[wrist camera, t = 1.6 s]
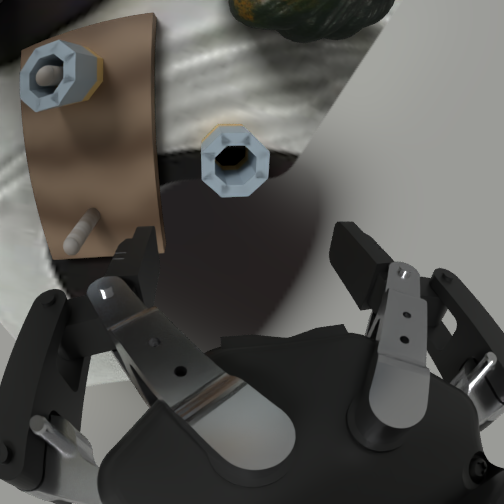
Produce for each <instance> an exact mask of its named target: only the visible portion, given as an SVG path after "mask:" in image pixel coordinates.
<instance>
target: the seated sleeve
mask: <svg viewBox="0 0 504 504" xmlns="http://www.w3.org/2000/svg"><path fill="white" fill-rule="evenodd" d="M47 65H50V66H63V80H62V81H61V83H60V84H59V85H53V86H40V85H38V84H37V82H36V74H37V72H38V71H39V69H40V68H42V67H43V66H47ZM102 82H103V58H101V57H100V56H99V55H97V54H96V53H95V52H93V51H92V50H91V49H89V48H88V47H85V46H81V45H78V44H74V43H70V42H66V41H62V40H57V41H54V42H51V43H48V44H46V45H43V46H41V47H38V48H35V50H34V51H33V53H32V54H31V56H30V57H29V59H28V61H27V62H26V64H25V65H24V67H23V68H22V70H21V72H20V99H21V100H22V101H23V102H24V103H26V104H27V105H28V106H29V107H30V108H31V109H32V110H34V111H35V112H39V111H43V110H48V109H52V108H57V107H61V106H66V105H70V104H74V103H78V102H82V101H87V100H89V99H90V97H91V96H92V95H93V93H94V92H95V91H96V90H97V88H98V87H99V86H100V84H101V83H102Z"/></svg>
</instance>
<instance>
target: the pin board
mask: <svg viewBox="0 0 504 504" xmlns="http://www.w3.org/2000/svg"><path fill="white" fill-rule="evenodd" d="M156 21H157V17H156V16H155V14H154V13H145V14H139V15H133V16H128V17H123V18H118V19H113V20H109V21H104V22H100V23H96V24H93V25H89V26H86V27H82V28H79V29H76V30H72V31H69V32H66V33H63V34H60V35H58V36H55V37H52V38H50V39H47V40H44V41H42V42H39V43H37V44H35V45H32V46H30V47H28V48H26V49H23V50H21V70H22V68H23V67H24V65H25V64H26V62H27V61H28V59H29V57H30V56H31V54H32V53H33V51H34V50H35V48H38V47H41V46H43V45H46V44H48V43H51V42H54V41H57V40H62V41H66V42H70V43H74V44H78V45H81V46H85V47H88V48H89V49H91V50H92V51H93V52H95V53H96V54H97V55H99V56H100V57H101V58H103V82H102V83H101V84H100V86H99V87H98V88H97V90H96V91H95V92H94V93H93V95H92V96H91V97H90V99H89V100H87V101H82V102H78V103H74V104H70V105H66V106H61V107H57V108H52V109H48V110H43V111H39V112H35V111H34V110H32V109H31V108H30V107H29V106H28V105H27V104H26V103H24V102H23V101H22V100H21V111H22V124H23V134H24V142H25V149H26V156H27V162H28V168H29V173H30V179H31V183H32V188H33V193H34V197H35V201H36V205H37V209H38V213H39V217H40V220H41V224H42V227H43V230H44V234H45V237H46V240H47V243H48V246H49V249H50V252H51V255H52V258H53V260H57V259H73V258H89V257H105V256H114V254H115V251H116V249H117V247H118V245H119V244H120V243H121V242H123V241H124V240H125V239H128V238H132V237H133V235H134V233H135V230H136V228H137V227H141V226H154V227H155V230H156V237H157V245H158V252H159V253H164V252H165V246H166V238H165V231H164V223H163V214H162V206H161V196H160V185H159V174H158V161H157V146H156V126H155V39H156ZM62 80H63V66H50V65H47V66H43V67H42V68H40V69H39V71H38V72H37V74H36V82H37V84H38V85H40V86H53V85H59V84H60V83H61V81H62Z"/></svg>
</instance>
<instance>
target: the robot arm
mask: <svg viewBox="0 0 504 504" xmlns="http://www.w3.org/2000/svg"><path fill="white" fill-rule="evenodd" d="M2 1H3V0H0V3H1V2H2ZM329 258H330V263H331V265H332V266H333V268H334V269H335V271H336V272H337V274H338V276H339V277H340V279H341V280H342V282H343V283H344V285H345V286H346V288H347V290H348V291H349V293H350V294H351V296H352V297H353V299H354V301H355V302H356V304H357V305H358V307H359V309H360V310H366V309H372V313H371V315H370V318H369V322H368V326H367V329H366V333H365V336H364V335H360V334H355V333H348V332H347V330H346V328H345V326H344V324H341V325H334V326H327V327H320V328H315V329H312V330H309V331H307V332H304V333H301V334H298V335H296V336H292V337H289V338H281V337H271V336H261V335H243V336H229V337H221V347H218V348H215V349H212V350H210V351H207V352H206V353H203V352H202V351H201V350H200V349H199V348H198V347H197V346H196V345H195V344H193V343H192V342H191V341H190V340H189V339H188V338H187V337H186V336H185V335H184V334H183V333H182V332H181V331H180V330H179V329H178V328H177V327H176V326H175V325H174V324H173V323H172V322H171V321H170V320H169V319H168V318H167V317H166V316H165V315H164V314H163V313H162V312H161V311H160V310H159V309H158V308H157V307H156V306H153V305H154V299H155V293H156V288H157V282H158V277H159V271H160V260H159V252H158V245H157V237H156V230H155V227H154V226H141V227H137V228H136V230H135V233H134V235H133V237H132V238H128V239H125V240H124V241H123V242H121V243H120V244H119V245H118V247H117V249H116V251H115V254H114V256H113V258H112V260H111V262H110V265H109V267H108V269H107V272H106V274H105V276H104V277H103V278H100V279H98V280H96V281H94V282H93V283H92V284H91V285H90V286H89V288H88V290H87V295H84V296H81V297H77V298H72V299H68V300H67V297H66V295H65V293H64V292H63V291H62V290H59V289H52V290H48V291H46V292H44V293H42V294H40V295H39V296H38V297H37V298H36V299H35V301H34V302H33V305H32V307H31V309H30V311H29V313H28V315H27V317H26V319H25V322H24V324H23V326H22V328H21V331H20V333H19V335H18V338H17V340H16V343H15V345H14V348H13V350H12V353H11V355H10V358H9V361H8V364H7V367H6V369H5V372H4V375H3V379H2V382H1V385H0V479H2V480H4V481H5V482H7V483H9V484H12V485H13V486H15V487H17V488H18V489H19V490H21V491H23V492H26V493H28V494H30V495H33V496H35V497H37V498H39V499H42V500H45V501H50V502H53V503H55V504H72V503H75V504H504V468H500V467H497V466H495V465H493V464H491V463H490V462H489V461H488V460H487V458H486V456H485V454H484V452H483V447H482V443H481V438H480V431H482V430H483V429H485V428H486V427H487V426H489V425H490V424H491V423H492V422H493V421H494V420H496V419H497V418H498V417H499V416H500V415H501V414H502V413H504V333H503V331H502V330H501V329H500V327H499V326H498V325H497V324H496V322H495V321H494V320H493V318H492V317H491V316H490V315H489V313H488V312H487V311H486V310H485V308H484V307H483V306H482V305H481V304H480V302H479V301H478V300H477V299H476V298H475V296H474V295H473V294H472V293H471V292H470V291H469V290H468V288H467V287H466V286H465V285H464V284H463V283H462V282H461V280H460V279H459V278H458V277H457V276H456V275H454V274H453V273H452V272H450V271H448V270H446V269H442V268H438V269H435V270H434V272H433V275H432V277H431V278H426V277H420V274H419V273H418V271H417V270H416V269H415V268H414V267H412V266H411V265H409V264H406V263H403V262H394V261H393V259H392V258H391V257H390V256H389V255H388V254H387V253H386V252H385V251H384V250H383V249H382V248H381V247H380V246H379V245H378V244H377V242H376V241H375V240H374V239H373V238H372V237H370V236H369V235H367V234H365V233H363V231H361V230H360V228H359V227H358V226H357V225H356V224H355V223H354V222H337V223H336V224H335V227H334V232H333V236H332V241H331V246H330V251H329ZM447 309H449V310H450V312H451V313H452V315H453V316H454V317H455V319H456V321H457V328H456V331H455V332H454V334H453V336H452V335H451V334H450V332H449V331H448V329H447V328H446V326H445V325H444V324H443V322H442V321H441V320H442V318H443V317H444V315H445V313H446V311H447ZM107 351H111V352H112V354H113V356H114V357H115V359H116V360H117V362H118V363H119V365H120V366H121V368H122V369H123V371H124V372H125V373H126V375H127V376H128V378H129V379H130V380H131V382H132V383H133V385H134V386H135V388H136V389H137V391H138V392H139V394H140V395H141V397H142V398H143V400H144V401H145V403H146V404H147V406H148V407H149V409H148V410H147V411H146V413H145V414H144V415H143V416H142V417H141V418H140V419H139V420H138V421H137V422H136V424H135V425H134V426H133V427H132V428H131V429H130V430H129V431H128V432H127V433H126V434H125V435H124V436H123V438H122V439H121V440H120V441H119V442H118V443H117V444H116V445H115V446H114V447H113V448H112V449H111V450H110V451H109V452H108V454H107V455H106V456H105V458H104V459H103V461H102V463H101V465H100V467H98V466H97V465H96V463H95V461H94V458H93V451H92V447H91V444H90V442H89V441H88V439H87V438H86V437H85V436H84V435H82V434H81V433H80V428H81V418H82V409H83V402H84V395H85V388H86V382H87V376H88V370H89V364H90V359H91V355H95V354H99V353H103V352H107ZM427 351H428V353H429V354H430V356H431V358H432V360H433V361H434V363H435V365H436V367H437V369H438V370H439V372H440V374H441V376H442V378H443V379H444V380H443V379H441V378H440V377H438V376H436V375H434V374H433V373H431V372H430V370H429V369H428V368H427V367H426V352H427Z"/></svg>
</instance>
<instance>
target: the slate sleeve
mask: <svg viewBox="0 0 504 504" xmlns="http://www.w3.org/2000/svg"><path fill="white" fill-rule="evenodd" d="M226 146H246V152H245V157H244V158H243V159H242V160H241V161H240V162H239V163H238V164H237V165H235V166H222V165H221V164H220V163H219V162H217V161H216V160H215V157H216V156H217V155H218V154H219V153H220V152H221V151H222V150H223V149H224V148H225V147H226ZM269 156H270V152H269V151H268V150H267V149H266V148H265V147H264V146H263V145H262V144H261V143H260V142H259V141H258V140H257V139H256V138H255V137H254V136H253V135H252V134H251V132H250V131H248V130H247V129H246V128H245V127H244V126H243V125H242V124H218V125H217V126H216V127H215V128H214V129H213V130H212V131H211V132H210V133H209V134H208V135H207V136H206V137H205V138H204V139H203V140H202V145H201V161H202V180H203V181H204V182H205V183H206V184H207V185H208V186H209V187H211V188H212V189H213V190H214V191H215V192H216V193H218V194H219V195H220V196H221V197H245V196H249V195H250V194H252V193H253V191H255V190H256V189H257V188H258V187H259V186H260V185H261V184H263V183H264V182H265V181H266V180H267V179H268V174H269Z"/></svg>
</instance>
